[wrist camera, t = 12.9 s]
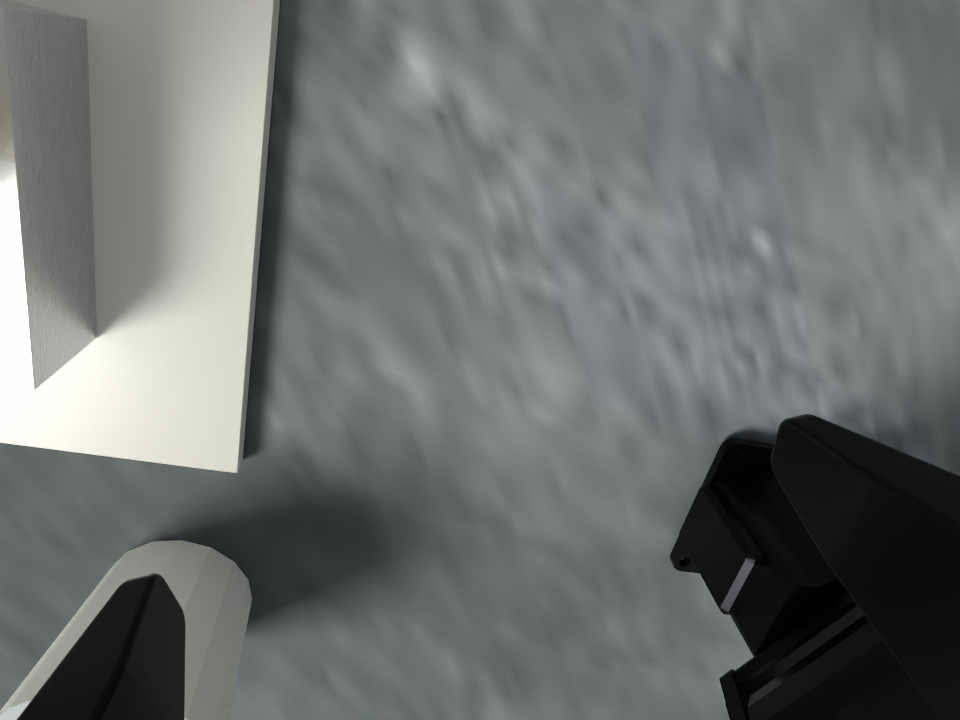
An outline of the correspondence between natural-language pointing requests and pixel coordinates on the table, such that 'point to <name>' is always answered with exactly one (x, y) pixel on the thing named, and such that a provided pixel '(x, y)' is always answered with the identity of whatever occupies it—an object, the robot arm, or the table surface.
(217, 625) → the white short cylinder
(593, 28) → the table surface
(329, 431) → the table surface
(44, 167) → the metal collar
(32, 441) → the base plate
